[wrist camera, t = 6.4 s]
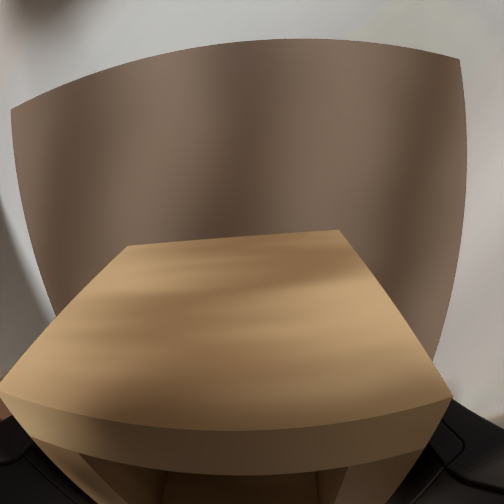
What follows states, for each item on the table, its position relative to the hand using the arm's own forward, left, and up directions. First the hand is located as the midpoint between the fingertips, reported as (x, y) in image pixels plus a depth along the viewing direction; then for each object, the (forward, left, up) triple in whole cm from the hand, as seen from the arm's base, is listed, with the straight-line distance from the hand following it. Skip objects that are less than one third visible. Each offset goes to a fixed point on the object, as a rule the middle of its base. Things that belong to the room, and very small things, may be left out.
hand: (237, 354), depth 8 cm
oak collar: (0, 0, -1) cm, 1 cm away
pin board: (0, 0, -5) cm, 5 cm away
